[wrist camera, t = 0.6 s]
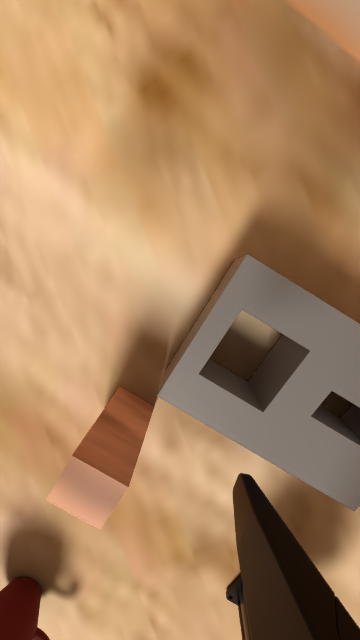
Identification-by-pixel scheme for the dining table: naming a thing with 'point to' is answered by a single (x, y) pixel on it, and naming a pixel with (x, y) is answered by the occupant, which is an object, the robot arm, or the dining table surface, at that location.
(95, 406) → the dining table surface
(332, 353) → the socket board
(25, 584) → the mug
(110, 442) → the peg
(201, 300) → the dining table surface
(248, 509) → the robot arm
